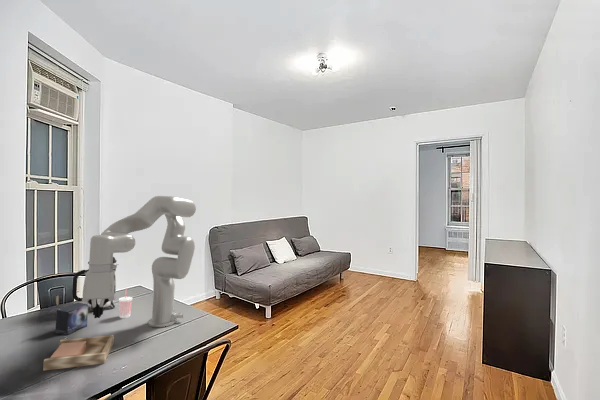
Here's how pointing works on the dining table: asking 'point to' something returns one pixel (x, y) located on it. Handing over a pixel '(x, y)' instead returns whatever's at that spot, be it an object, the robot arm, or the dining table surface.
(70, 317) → the small box
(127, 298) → the beverage cup
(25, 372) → the dining table surface
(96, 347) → the wooden tray
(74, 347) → the cover plate
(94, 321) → the dining table surface
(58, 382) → the dining table surface
